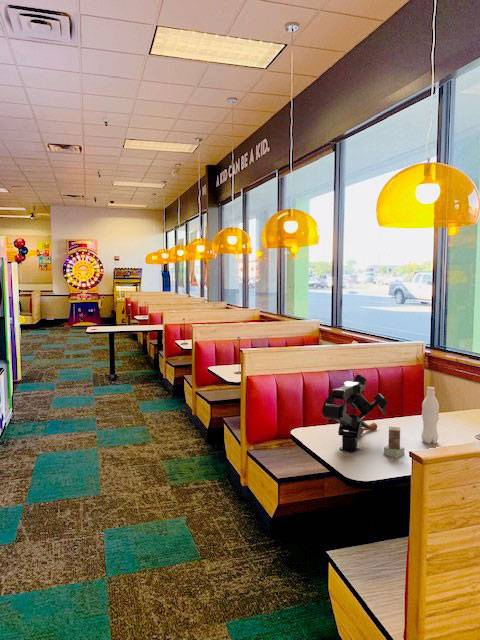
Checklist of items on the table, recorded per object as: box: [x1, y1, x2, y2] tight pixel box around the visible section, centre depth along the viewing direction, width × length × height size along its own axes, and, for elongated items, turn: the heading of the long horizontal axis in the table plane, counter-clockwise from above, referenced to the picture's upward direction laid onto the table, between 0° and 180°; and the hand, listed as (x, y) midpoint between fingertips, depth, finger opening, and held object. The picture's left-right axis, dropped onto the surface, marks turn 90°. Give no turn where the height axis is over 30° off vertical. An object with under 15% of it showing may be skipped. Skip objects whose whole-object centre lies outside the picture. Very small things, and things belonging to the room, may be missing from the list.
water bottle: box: [420, 386, 440, 445], centre depth 216 cm, size 7×7×25 cm
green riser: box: [383, 444, 405, 459], centre depth 203 cm, size 6×6×3 cm
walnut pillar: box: [387, 426, 401, 450], centre depth 202 cm, size 4×4×8 cm
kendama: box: [348, 422, 378, 435], centre depth 229 cm, size 6×6×20 cm
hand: (377, 421), depth 220 cm, fingers open, 9 cm apart
